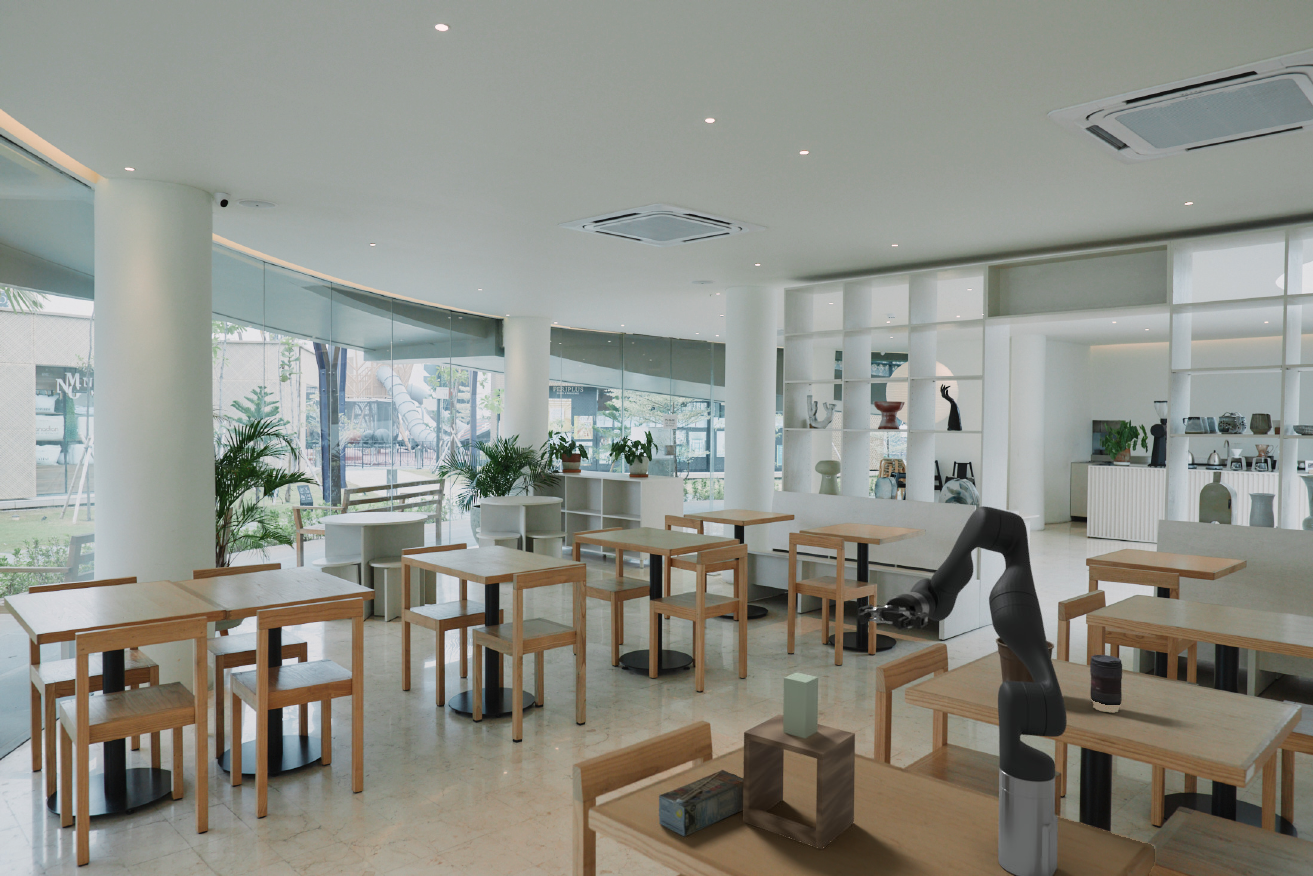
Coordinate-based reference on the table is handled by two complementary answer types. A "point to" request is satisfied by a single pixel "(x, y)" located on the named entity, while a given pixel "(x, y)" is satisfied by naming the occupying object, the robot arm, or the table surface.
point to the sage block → (800, 705)
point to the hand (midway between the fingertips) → (880, 621)
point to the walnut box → (767, 779)
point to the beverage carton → (701, 803)
